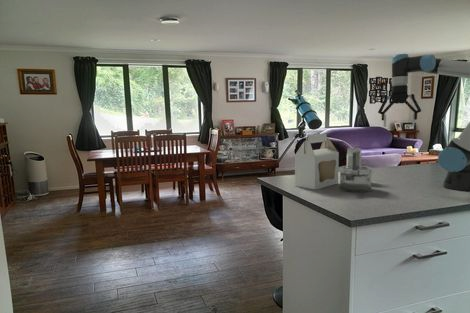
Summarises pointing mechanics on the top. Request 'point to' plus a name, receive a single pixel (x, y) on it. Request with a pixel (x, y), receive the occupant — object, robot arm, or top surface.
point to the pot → (355, 179)
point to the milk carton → (350, 156)
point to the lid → (356, 161)
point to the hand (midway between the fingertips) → (398, 126)
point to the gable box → (316, 163)
